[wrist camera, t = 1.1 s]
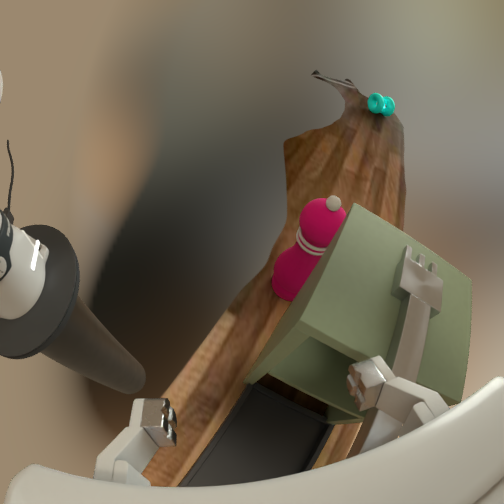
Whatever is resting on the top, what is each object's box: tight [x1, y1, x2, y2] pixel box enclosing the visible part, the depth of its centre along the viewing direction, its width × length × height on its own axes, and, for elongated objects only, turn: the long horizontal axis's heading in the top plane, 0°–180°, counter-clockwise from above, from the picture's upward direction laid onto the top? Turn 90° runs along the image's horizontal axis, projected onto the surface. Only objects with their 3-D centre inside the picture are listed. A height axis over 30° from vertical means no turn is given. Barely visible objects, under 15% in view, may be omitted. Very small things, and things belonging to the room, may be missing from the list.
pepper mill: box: [272, 196, 346, 301], centre depth 37 cm, size 7×7×20 cm
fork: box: [346, 245, 443, 459], centre depth 14 cm, size 18×4×1 cm, turn 150°
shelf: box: [243, 203, 472, 425], centre depth 27 cm, size 14×12×25 cm
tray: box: [177, 382, 335, 487], centre depth 27 cm, size 14×21×2 cm, turn 150°
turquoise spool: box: [368, 93, 395, 116], centre depth 100 cm, size 10×10×10 cm
